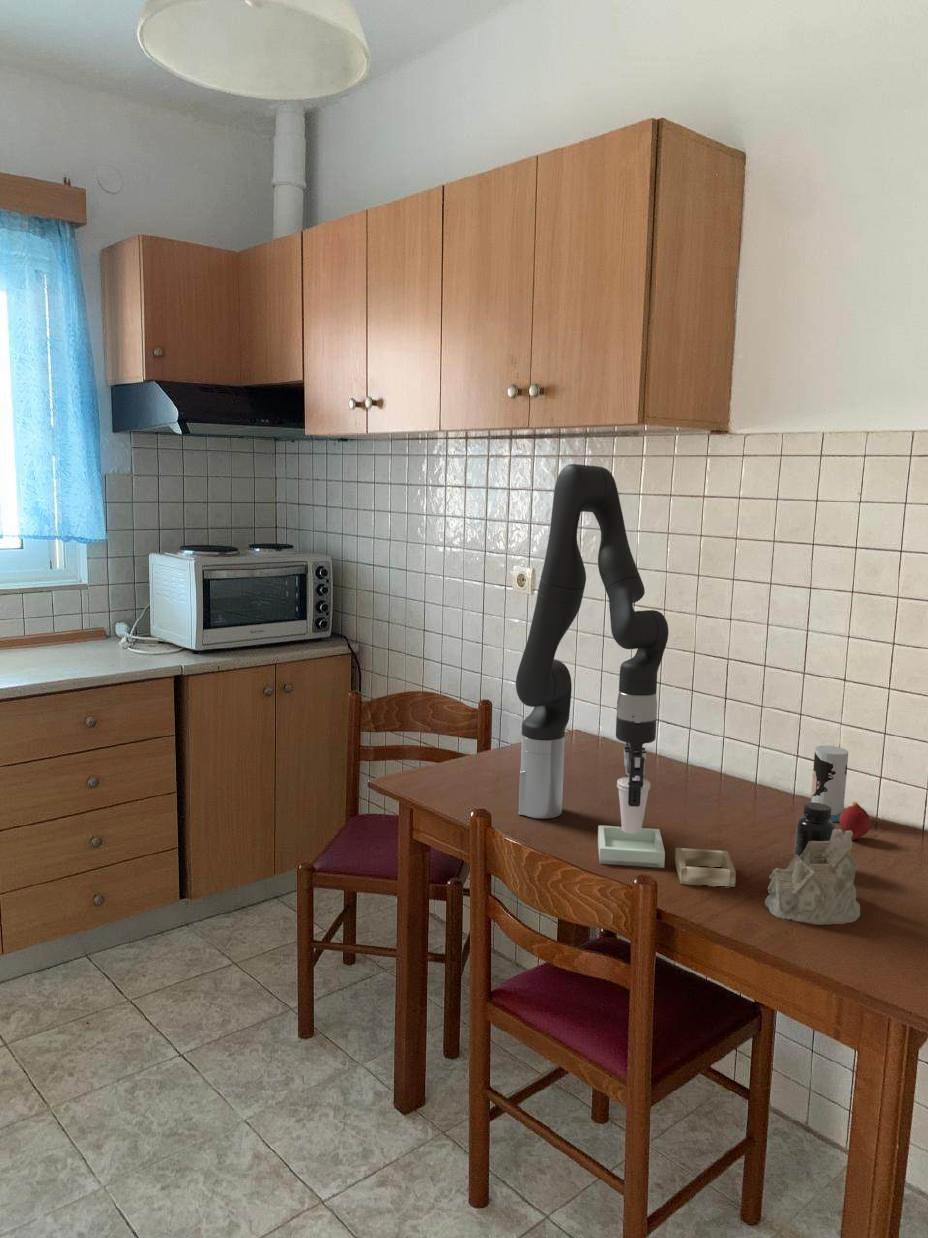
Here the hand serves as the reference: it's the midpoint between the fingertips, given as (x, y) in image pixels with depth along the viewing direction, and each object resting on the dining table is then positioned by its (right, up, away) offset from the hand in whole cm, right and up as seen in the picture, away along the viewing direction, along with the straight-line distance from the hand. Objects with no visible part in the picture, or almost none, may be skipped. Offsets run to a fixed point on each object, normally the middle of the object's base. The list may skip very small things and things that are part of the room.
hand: (632, 799), depth 178 cm
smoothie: (0, -6, +1) cm, 6 cm away
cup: (+47, -9, +24) cm, 53 cm away
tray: (0, -11, +2) cm, 11 cm away
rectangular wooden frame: (+12, -12, -8) cm, 19 cm away
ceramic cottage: (+27, -15, -18) cm, 36 cm away
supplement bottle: (+33, -12, -3) cm, 36 cm away
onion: (+47, -10, +11) cm, 50 cm away
